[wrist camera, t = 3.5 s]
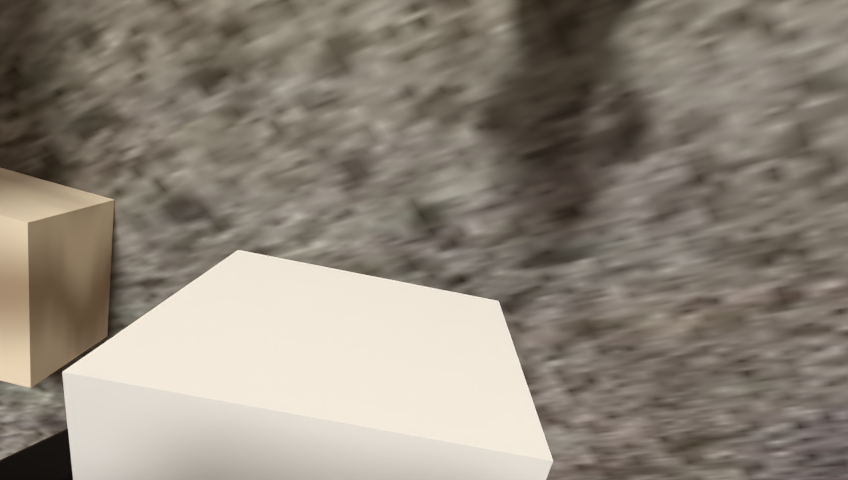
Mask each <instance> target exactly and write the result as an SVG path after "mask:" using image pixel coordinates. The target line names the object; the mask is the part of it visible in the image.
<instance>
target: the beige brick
mask: <svg viewBox="0 0 848 480" xmlns="http://www.w3.org/2000/svg"><path fill="white" fill-rule="evenodd" d="M113 216H114V200H113V199H110V198H106V197H103V196H99V195H95V194H92V193H88V192H85V191H81V190H78V189H74V188H71V187H67V186H64V185H60V184H57V183H53V182H49V181H46V180H42V179H39V178H35V177H32V176H28V175H25V174H21V173H18V172H14V171H11V170H7V169H4V168H0V380H1V381H5V382H9V383H13V384H17V385H21V386H25V387H29V388H31V387H33V386H34V385H36V384H37V383H39V382H40V381H42V380H43V379H45V378H46V377H48V376H49V375H51V374H52V373H54V372H55V371H57V370H58V369H60V368H61V367H62V366H64V365H65V364H67V363H68V362H70V361H71V360H73V359H74V358H76V357H77V356H79V355H80V354H82V353H83V352H85V351H86V350H88V349H89V348H91V347H92V346H94V345H95V344H97V343H98V342H100V341H101V340H103V339H104V338H106V337H107V333H108V314H109V294H110V275H111V255H112V236H113Z"/></svg>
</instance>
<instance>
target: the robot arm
mask: <svg viewBox="0 0 848 480" xmlns="http://www.w3.org/2000/svg"><path fill="white" fill-rule="evenodd" d="M0 480H73V475H72V465H71V455H70V445H69V435H68V429H65V430H63V431H61V432H59V433H57V434H55V435H53V436H51V437H48V438H46V439H44V440H42V441H40V442H38V443H36V444H33V445H31V446H29V447H27V448H25V449H23V450H21V451H19V452H16V453H14V454H12V455H10V456H8V457H6V458H4V459H2V460H0Z"/></svg>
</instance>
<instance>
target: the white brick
mask: <svg viewBox="0 0 848 480" xmlns="http://www.w3.org/2000/svg"><path fill="white" fill-rule="evenodd" d="M62 376H63V386H64V396H65V406H66V415H67V425H68V435H69V445H70V455H71V465H72V475H73V480H546V478H547V475H548V473H549V470H550V468H551V465H552V463H553V459H552V456H551V453H550V450H549V447H548V444H547V442H546V439H545V436H544V433H543V430H542V427H541V424H540V421H539V418H538V415H537V412H536V409H535V406H534V403H533V400H532V398H531V395H530V392H529V389H528V386H527V383H526V380H525V377H524V374H523V371H522V368H521V365H520V362H519V359H518V357H517V354H516V351H515V348H514V345H513V342H512V339H511V336H510V333H509V330H508V327H507V324H506V321H505V318H504V315H503V313H502V310H501V307H500V304H499V301H496V300H491V299H486V298H481V297H476V296H471V295H466V294H461V293H455V292H450V291H445V290H440V289H435V288H430V287H425V286H420V285H415V284H409V283H404V282H399V281H394V280H389V279H384V278H379V277H374V276H369V275H364V274H358V273H353V272H348V271H343V270H338V269H333V268H328V267H323V266H318V265H312V264H307V263H302V262H297V261H292V260H287V259H282V258H277V257H272V256H267V255H261V254H256V253H251V252H246V251H241V250H237V251H236V252H234V253H233V254H232V255H230V256H229V257H227V258H226V259H224V260H223V261H221V262H220V263H219V264H217V265H216V266H214V267H213V268H211V269H210V270H208V271H207V272H206V273H204V274H203V275H201V276H200V277H198V278H197V279H195V280H194V281H193V282H191V283H190V284H188V285H187V286H185V287H184V288H182V289H181V290H180V291H178V292H177V293H175V294H174V295H172V296H171V297H169V298H168V299H167V300H165V301H164V302H162V303H161V304H159V305H158V306H157V307H155V308H154V309H152V310H151V311H149V312H148V313H146V314H145V315H144V316H142V317H141V318H139V319H138V320H136V321H135V322H133V323H132V324H131V325H129V326H128V327H126V328H125V329H123V330H122V331H120V332H119V333H118V334H116V335H115V336H113V337H112V338H110V339H109V340H107V341H106V342H105V343H103V344H102V345H100V346H99V347H97V348H96V349H94V350H93V351H92V352H90V353H89V354H87V355H86V356H84V357H83V358H81V359H80V360H79V361H77V362H76V363H74V364H73V365H71V366H70V367H69V368H67V369H66V370H64V371H63V372H62Z"/></svg>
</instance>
